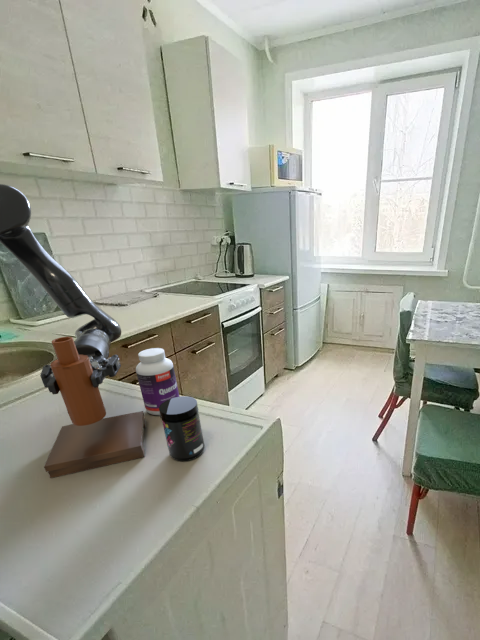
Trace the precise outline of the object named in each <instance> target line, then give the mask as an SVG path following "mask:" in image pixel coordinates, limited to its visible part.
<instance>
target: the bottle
mask: <svg viewBox="0 0 480 640" xmlns="http://www.w3.org/2000/svg"><path fill="white" fill-rule="evenodd" d="M74 341H75V339H74V337H72V336H61V337H58V338H55V339H52V340H51V345H52V347H53V350H54V354H55V356H56V359H55V360H53V361H52V362H50V364H49V365H50V366H51V369H52V371H53V374H54V377H55V379H56V382H57V385H58V387H59V390H60V391H59V393H60V395H61V397H62V400H63V403H64V405H65V408H66V411H67V413H68V416H69V419H70V421H71V423H72V424H74V425H77V426H84V425H90V424H93V423H95V422H98V421H100V420H101V419H103V418H106V415H107V411H106V407H105V404H104V401H103V397H102V395H101V391H100V389H99V387H95V388H94V387H93V384H92V381H91V375H92V373H93V370H92V366H91V363H90V360H89V357H88V356H87V355H83V354H81V355H78V352H77V349H76V346H75V343H74Z"/></svg>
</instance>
